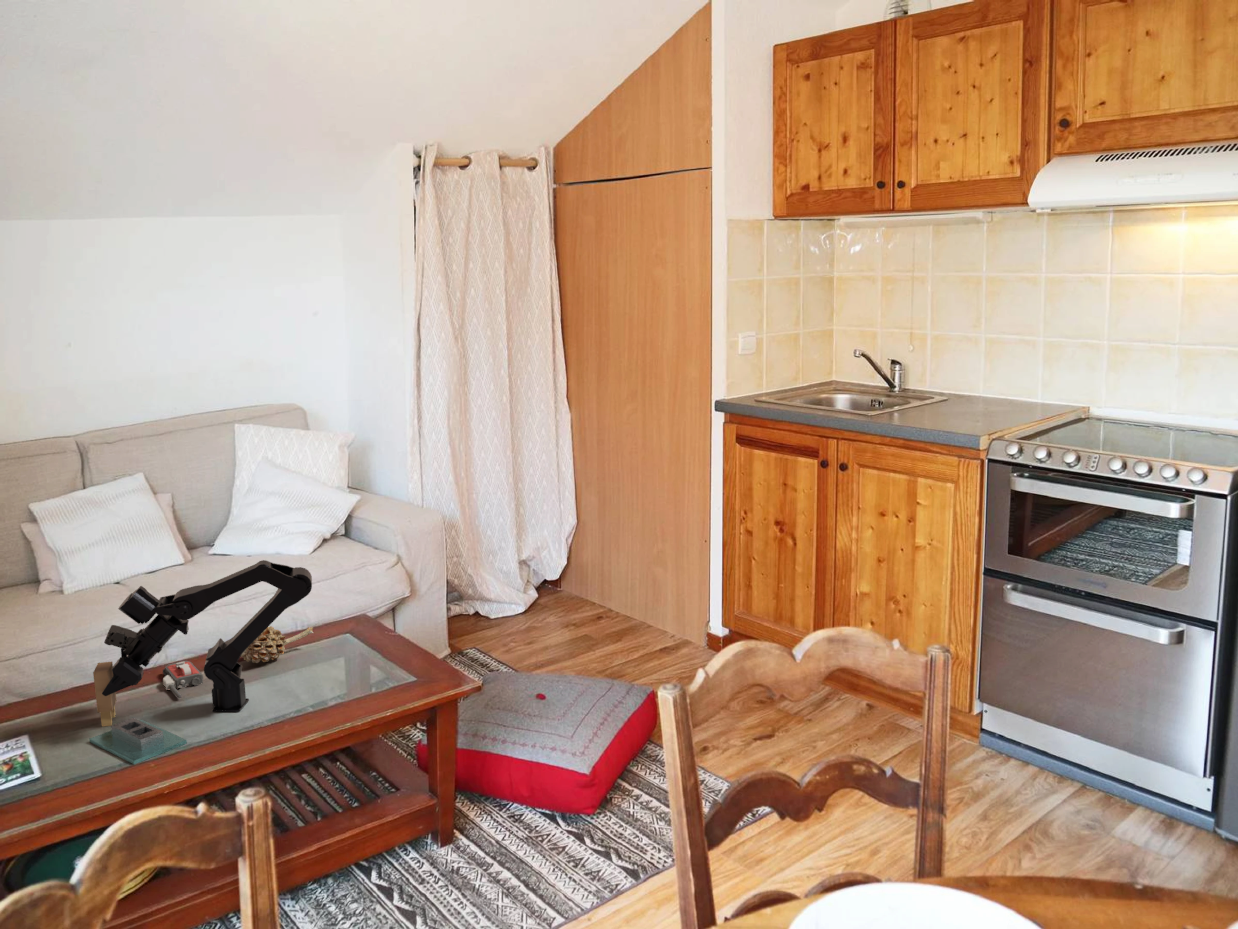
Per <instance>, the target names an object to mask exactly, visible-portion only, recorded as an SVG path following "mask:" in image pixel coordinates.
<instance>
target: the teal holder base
mask: <svg viewBox="0 0 1238 929" xmlns="http://www.w3.org/2000/svg"><path fill="white" fill-rule="evenodd" d="M187 741H188V740H187V739H185V738H184V737H181V736H178V735H176V734H174V733H172V732H170V731H168V730H166V729H163V728H162V727H159V726H157V725H155V724H152V723H150V722H149V721H146V720H144V719H143V718H141V719H136V718H135V717H131V718H128V719H125V720H123V721H120V722H117V723H114V724H112V725H111V726H110V730H109V731H107V732H106V731H105V732H104V733H101V734H98V735H95V736H93V737H90V738H89V743H91V744H93V745H95V746H97V747H99V748H101V749H102V750H105V751H107V752H109V753H110V754H113V755H115V756H116V757H119V758H120V759H123V760H124V761H126V762H128V763H131V764H132V765H137V764H138V763H141V762H143V761H147V760H149V759H151V758H154V757H156V756H159V755H161V754H163V753H166V752H168V751H171V750H174V749H176V748H178V747H181V746H184V745H186V744H187V743H188V742H187Z"/></svg>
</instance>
